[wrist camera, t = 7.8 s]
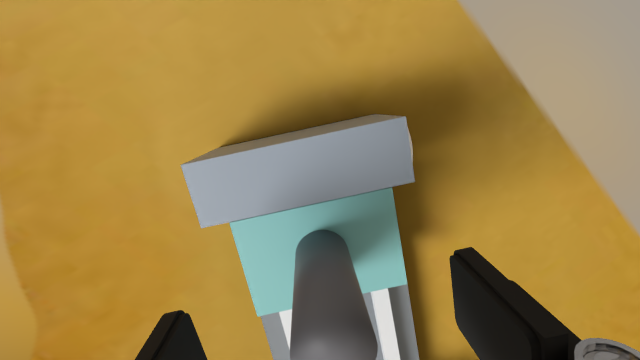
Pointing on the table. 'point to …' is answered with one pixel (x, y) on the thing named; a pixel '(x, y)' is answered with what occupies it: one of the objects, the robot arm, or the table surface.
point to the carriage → (324, 270)
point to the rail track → (312, 200)
